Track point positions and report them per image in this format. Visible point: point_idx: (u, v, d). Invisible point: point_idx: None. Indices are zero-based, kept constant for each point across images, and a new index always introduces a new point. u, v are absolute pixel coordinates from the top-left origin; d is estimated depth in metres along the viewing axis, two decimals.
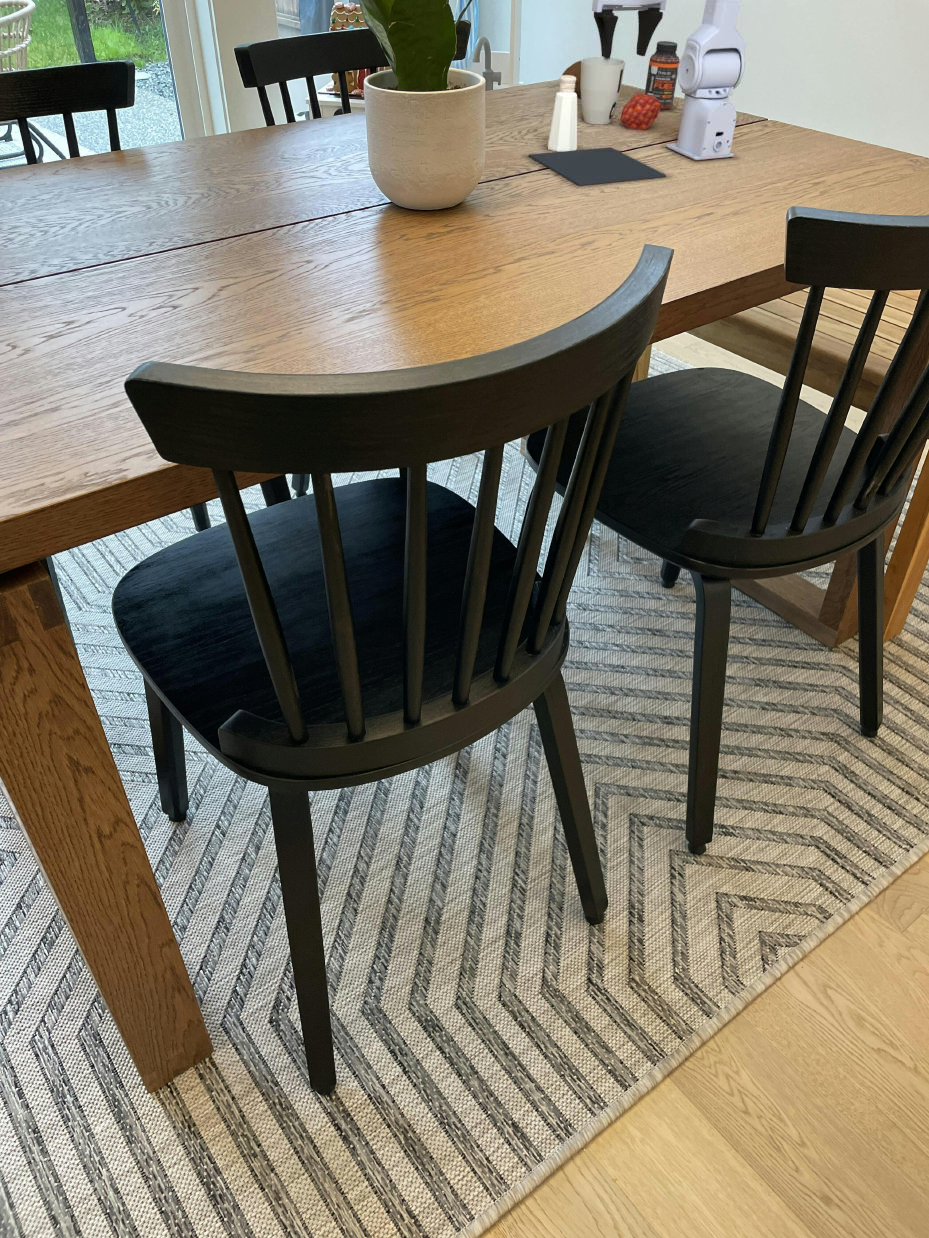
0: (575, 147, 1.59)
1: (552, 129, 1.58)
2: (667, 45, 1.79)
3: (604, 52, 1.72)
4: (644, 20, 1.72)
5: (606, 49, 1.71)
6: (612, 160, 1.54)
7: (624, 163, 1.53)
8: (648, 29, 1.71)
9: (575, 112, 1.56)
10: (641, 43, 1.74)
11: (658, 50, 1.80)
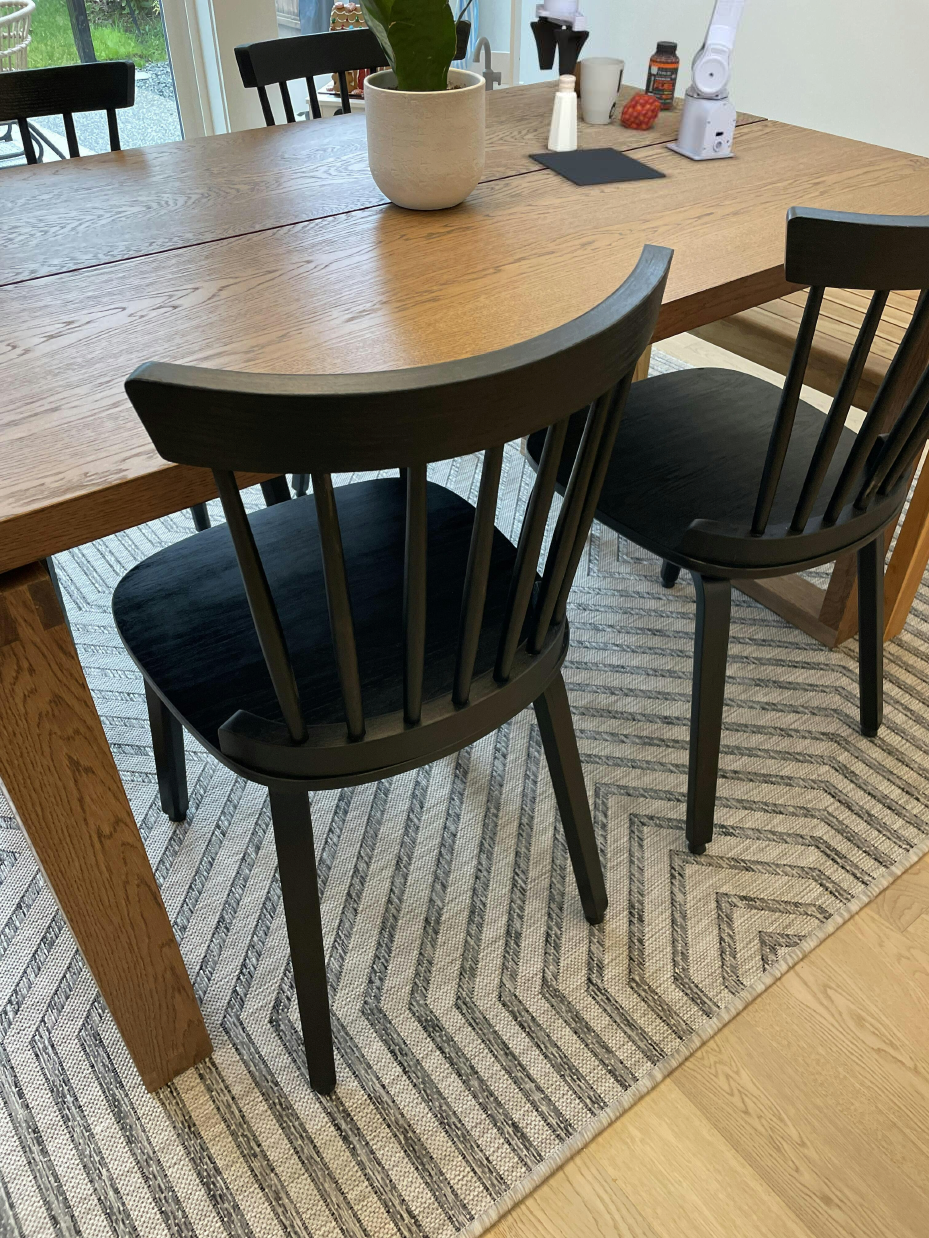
0: (575, 146, 1.59)
1: (552, 129, 1.58)
2: (667, 45, 1.79)
3: (567, 73, 1.54)
4: (548, 32, 1.57)
5: (571, 69, 1.54)
6: (612, 160, 1.54)
7: (624, 163, 1.53)
8: (556, 39, 1.58)
9: (575, 112, 1.56)
10: (547, 56, 1.59)
11: (658, 50, 1.80)
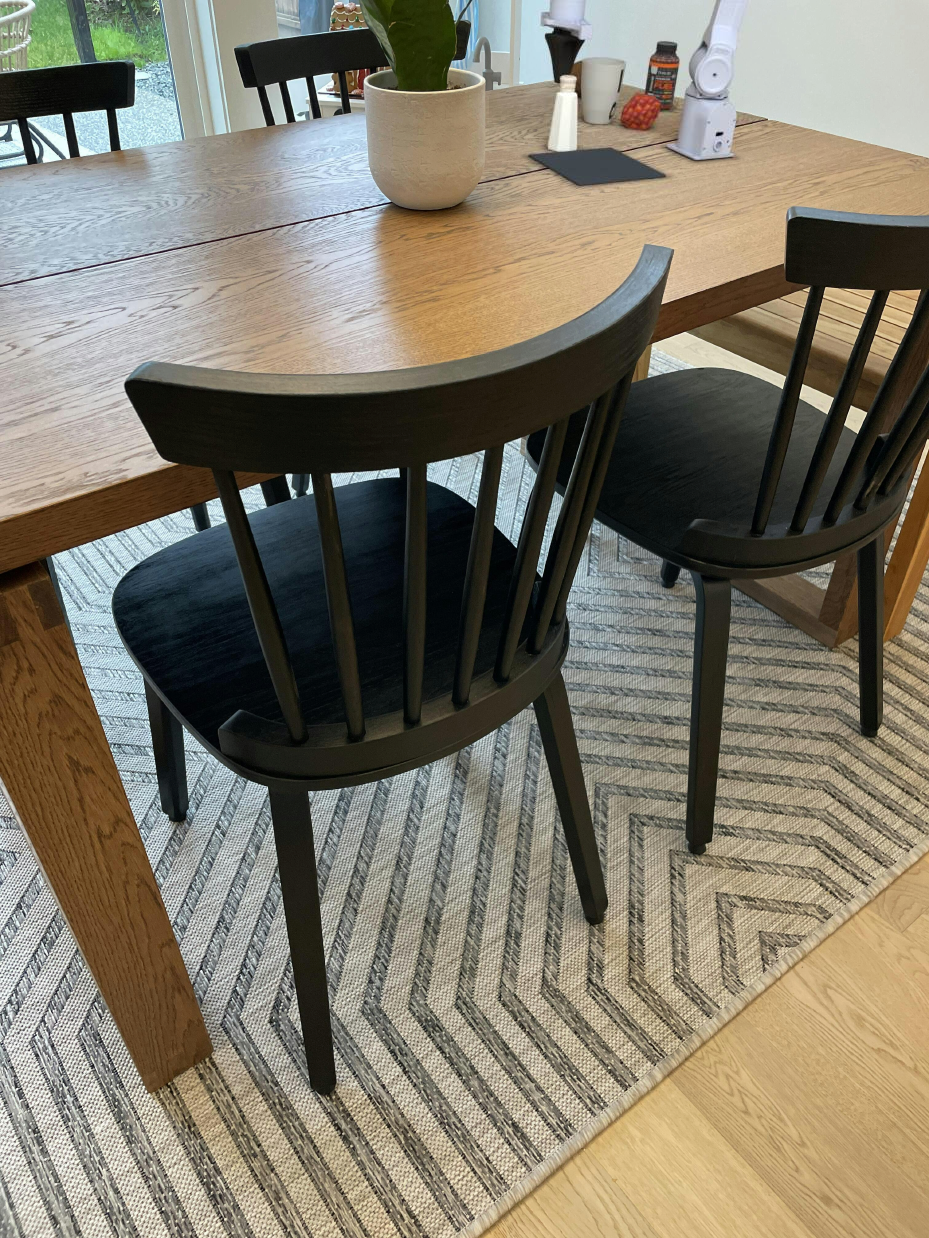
0: (575, 147, 1.59)
1: (552, 129, 1.58)
2: (667, 45, 1.79)
3: None
4: None
5: (568, 73, 1.55)
6: (612, 160, 1.54)
7: (624, 163, 1.53)
8: None
9: (576, 112, 1.56)
10: None
11: (658, 50, 1.80)
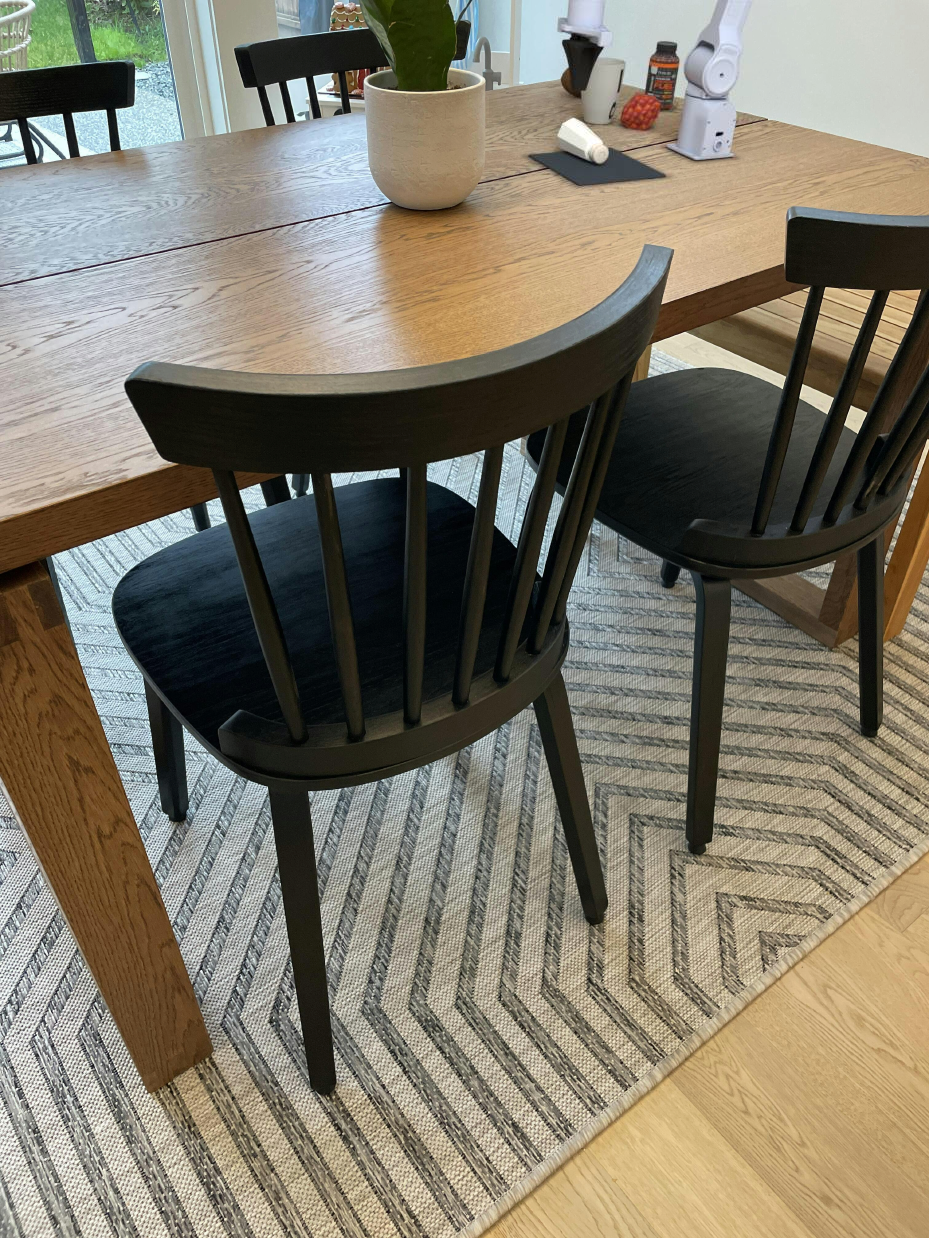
0: None
1: (567, 143, 1.54)
2: (667, 45, 1.79)
3: (581, 85, 1.51)
4: None
5: (586, 81, 1.50)
6: (612, 160, 1.54)
7: (624, 163, 1.53)
8: None
9: None
10: None
11: (658, 50, 1.80)
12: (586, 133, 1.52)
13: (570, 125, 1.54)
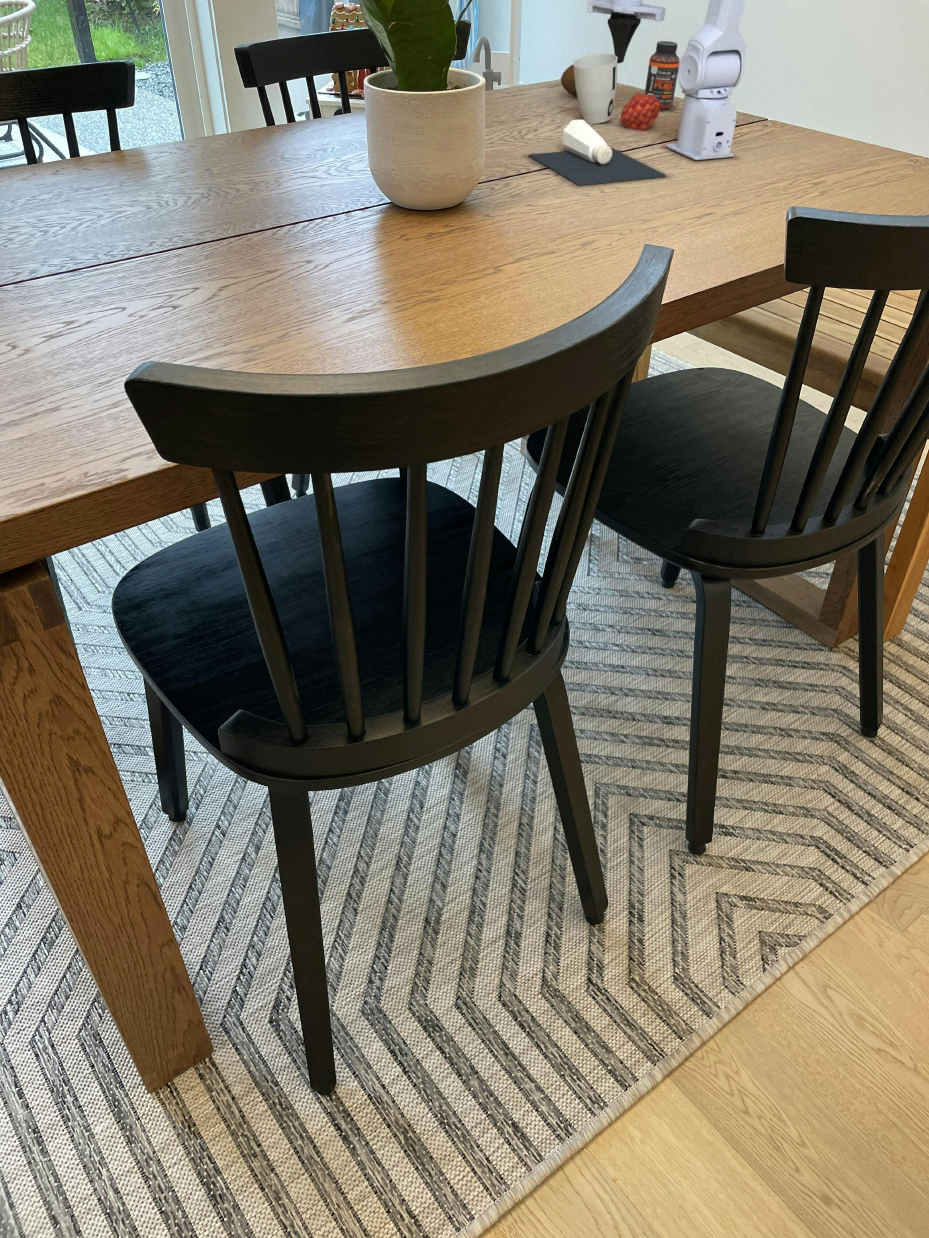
0: None
1: (572, 138, 1.54)
2: (667, 45, 1.79)
3: (622, 57, 1.71)
4: None
5: (624, 53, 1.71)
6: (612, 160, 1.54)
7: (624, 163, 1.53)
8: None
9: None
10: None
11: (658, 50, 1.80)
12: (594, 133, 1.52)
13: (579, 123, 1.55)
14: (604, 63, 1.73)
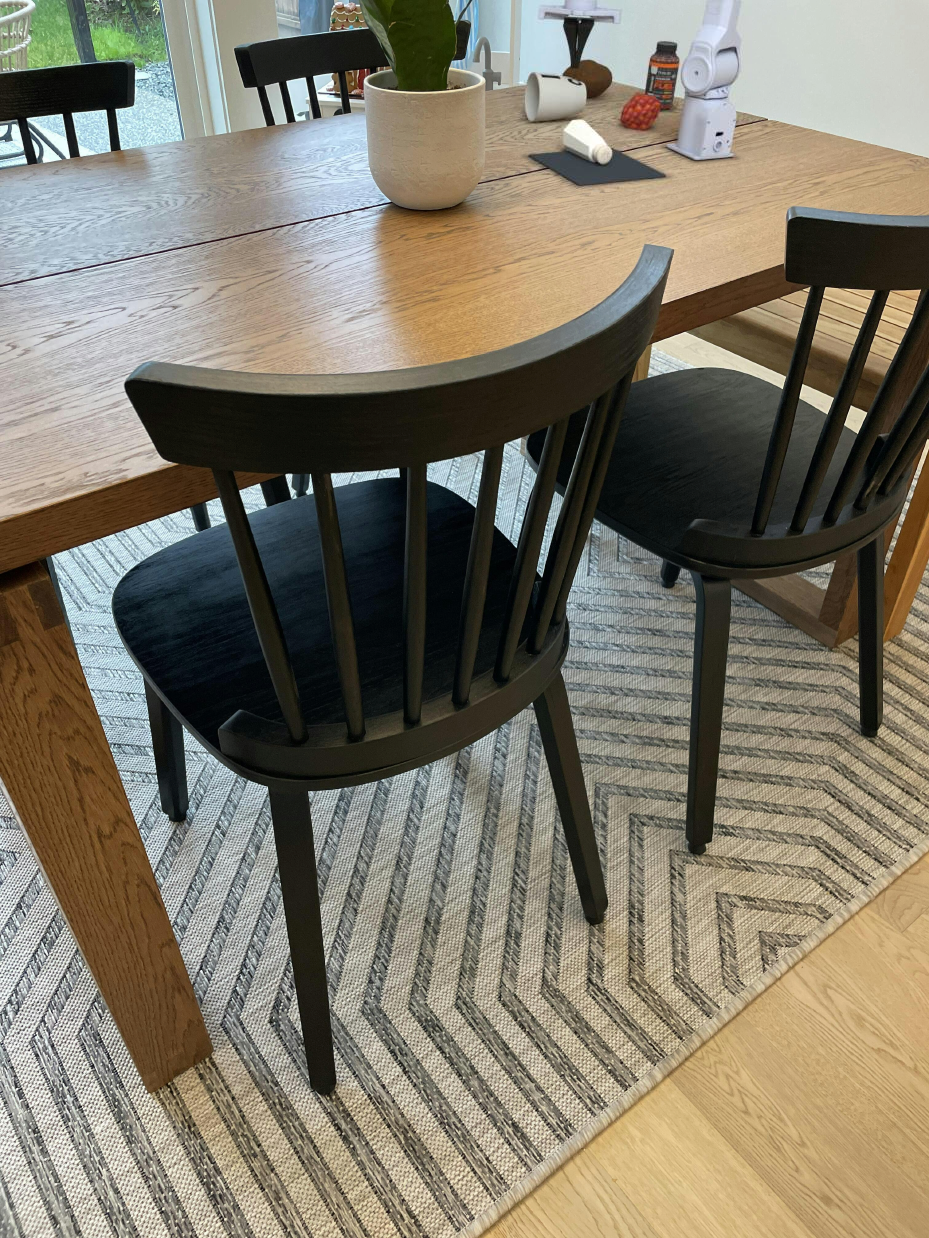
0: None
1: (572, 138, 1.54)
2: (667, 45, 1.79)
3: (579, 63, 1.68)
4: (576, 31, 1.65)
5: (580, 58, 1.69)
6: (612, 160, 1.54)
7: (624, 163, 1.53)
8: (577, 37, 1.67)
9: None
10: (575, 55, 1.68)
11: (658, 50, 1.80)
12: (594, 133, 1.52)
13: (579, 123, 1.55)
14: (533, 87, 1.75)
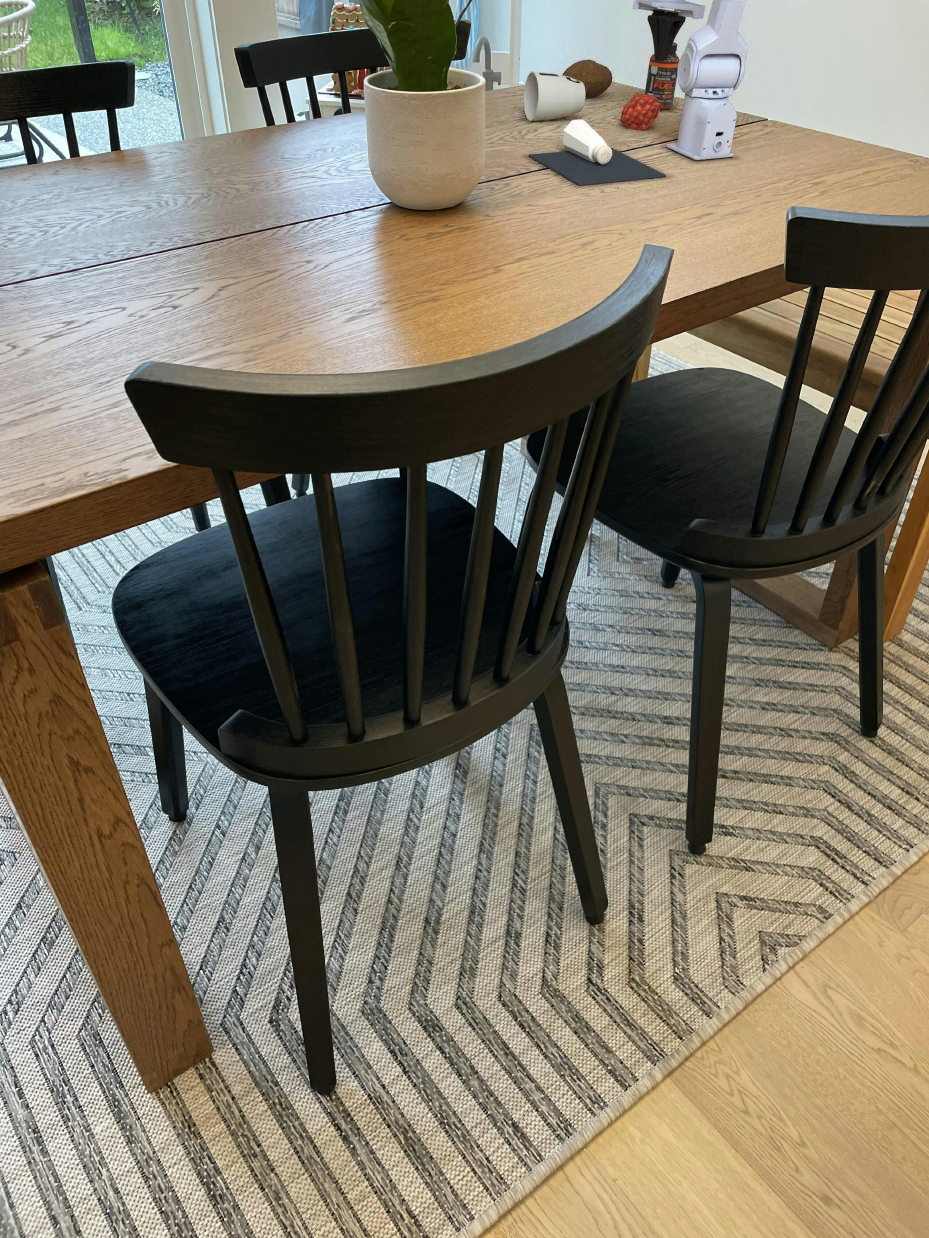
0: None
1: (572, 138, 1.54)
2: None
3: (664, 55, 1.69)
4: None
5: (668, 51, 1.69)
6: (612, 160, 1.54)
7: (624, 163, 1.53)
8: None
9: None
10: None
11: None
12: (594, 133, 1.52)
13: (579, 123, 1.55)
14: (532, 89, 1.76)
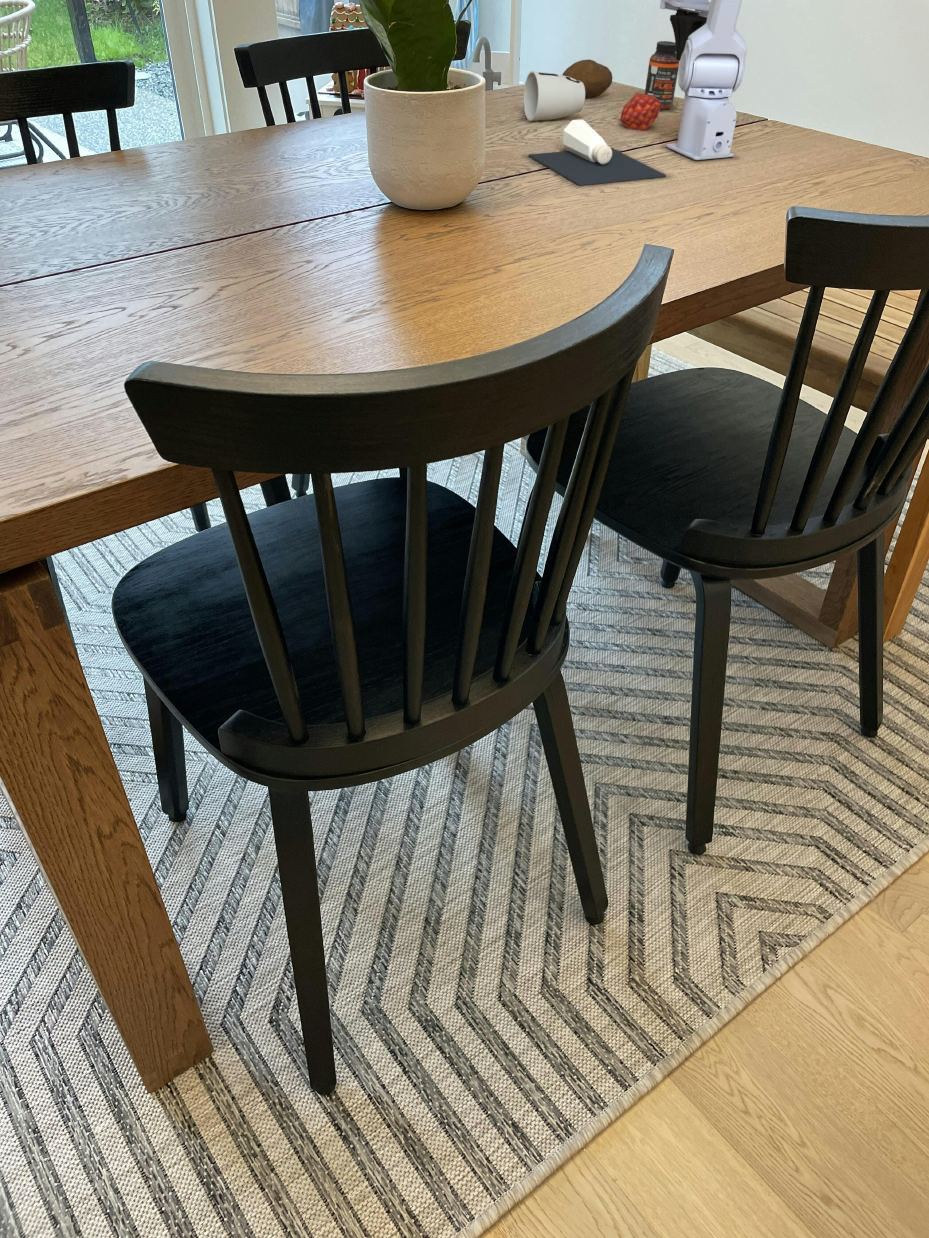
0: None
1: (572, 138, 1.54)
2: (667, 45, 1.79)
3: None
4: None
5: None
6: (612, 160, 1.54)
7: (624, 163, 1.53)
8: None
9: None
10: None
11: (658, 50, 1.80)
12: (594, 133, 1.52)
13: (579, 123, 1.55)
14: (532, 90, 1.76)
